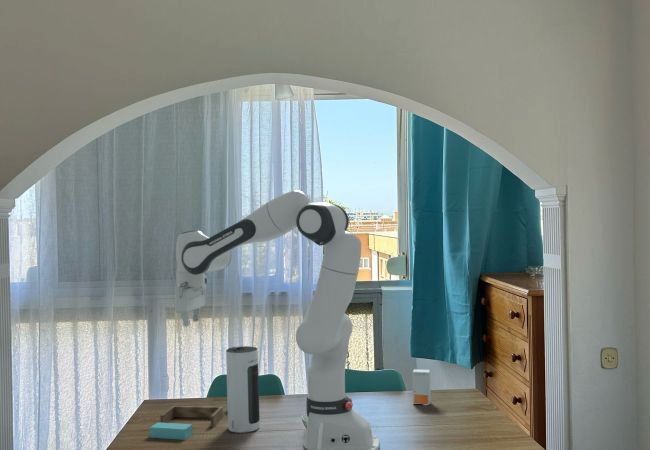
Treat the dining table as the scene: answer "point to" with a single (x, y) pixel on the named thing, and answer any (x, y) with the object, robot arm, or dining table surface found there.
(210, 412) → the walnut box
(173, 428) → the turquoise rectangular block
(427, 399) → the skincare box
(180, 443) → the dining table surface
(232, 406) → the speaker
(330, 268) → the robot arm
